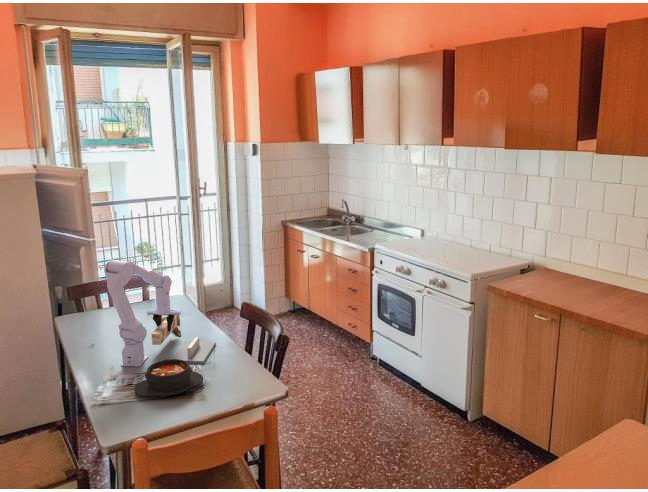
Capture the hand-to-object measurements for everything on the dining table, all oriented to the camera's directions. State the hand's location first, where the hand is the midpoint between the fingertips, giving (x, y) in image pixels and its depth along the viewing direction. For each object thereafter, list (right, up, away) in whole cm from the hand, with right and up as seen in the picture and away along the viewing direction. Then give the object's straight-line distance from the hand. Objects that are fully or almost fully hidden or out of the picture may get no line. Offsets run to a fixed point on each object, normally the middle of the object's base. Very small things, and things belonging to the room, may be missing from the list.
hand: (164, 330), depth 239 cm
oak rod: (0, -2, 0) cm, 2 cm away
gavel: (-2, -3, +20) cm, 20 cm away
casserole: (+13, -16, -37) cm, 42 cm away
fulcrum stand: (+15, -9, -7) cm, 18 cm away
